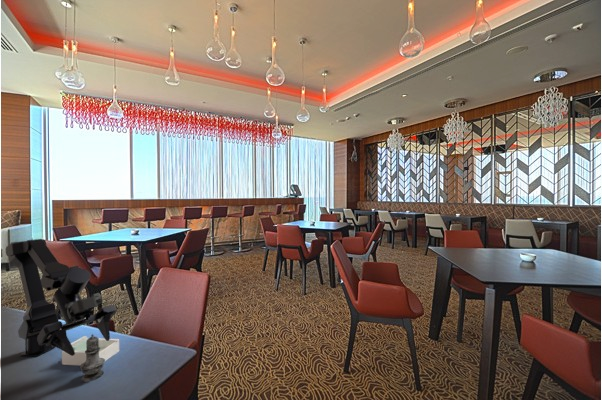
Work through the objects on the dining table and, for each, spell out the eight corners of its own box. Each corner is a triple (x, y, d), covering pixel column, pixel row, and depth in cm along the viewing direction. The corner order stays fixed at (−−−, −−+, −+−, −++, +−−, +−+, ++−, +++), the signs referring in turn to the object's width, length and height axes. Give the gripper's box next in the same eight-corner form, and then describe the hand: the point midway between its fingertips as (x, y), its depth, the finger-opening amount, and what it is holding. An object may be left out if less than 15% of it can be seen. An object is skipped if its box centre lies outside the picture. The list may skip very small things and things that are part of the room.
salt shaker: (92, 383, 79) (91, 339, 79) (74, 380, 80) (74, 338, 81) (110, 370, 85) (109, 330, 85) (93, 368, 86) (93, 328, 86)
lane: (62, 364, 89) (61, 348, 89) (86, 349, 98) (86, 334, 98) (97, 366, 87) (97, 349, 88) (119, 351, 96) (119, 336, 96)
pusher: (72, 358, 90) (72, 347, 90) (89, 348, 96) (89, 337, 96) (75, 359, 90) (75, 347, 90) (92, 348, 96) (92, 337, 96)
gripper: (41, 296, 77) (64, 346, 72) (113, 279, 94) (135, 318, 89) (27, 321, 80) (48, 370, 75) (99, 300, 97) (119, 339, 92)
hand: (91, 347), depth 83 cm, fingers open, 9 cm apart
